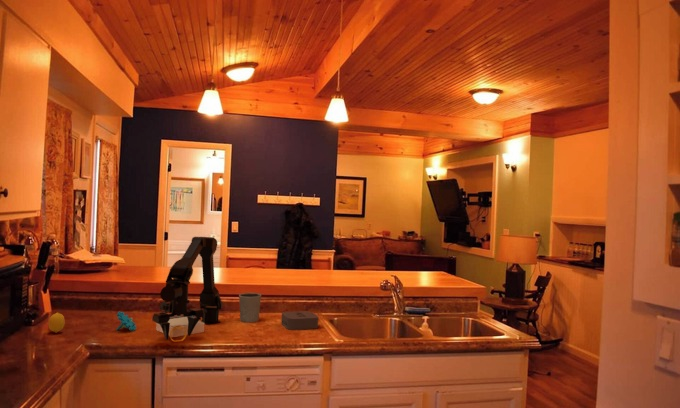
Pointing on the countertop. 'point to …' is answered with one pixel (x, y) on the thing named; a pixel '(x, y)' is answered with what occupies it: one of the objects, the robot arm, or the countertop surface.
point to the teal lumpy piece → (126, 321)
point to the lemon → (56, 322)
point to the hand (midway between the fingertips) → (177, 337)
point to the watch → (177, 328)
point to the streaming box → (299, 320)
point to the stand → (184, 323)
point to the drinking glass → (249, 307)
